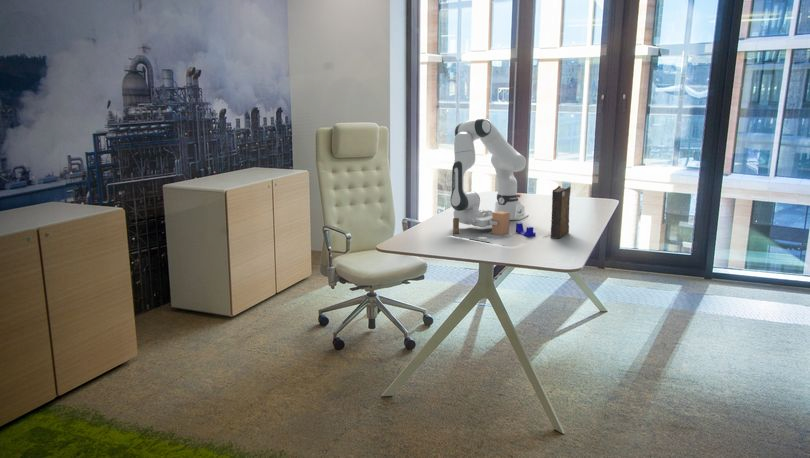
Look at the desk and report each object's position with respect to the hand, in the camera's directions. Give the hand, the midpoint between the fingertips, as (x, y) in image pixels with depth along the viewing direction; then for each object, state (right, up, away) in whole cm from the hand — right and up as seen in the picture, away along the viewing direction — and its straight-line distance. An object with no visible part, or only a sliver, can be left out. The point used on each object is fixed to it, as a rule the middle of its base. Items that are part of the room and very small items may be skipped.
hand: (502, 222), depth 333 cm
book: (+29, -7, +1) cm, 30 cm away
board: (-6, -8, -4) cm, 11 cm away
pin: (-24, -7, +2) cm, 25 cm away
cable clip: (+12, -8, 0) cm, 14 cm away
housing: (-1, -6, +2) cm, 6 cm away
